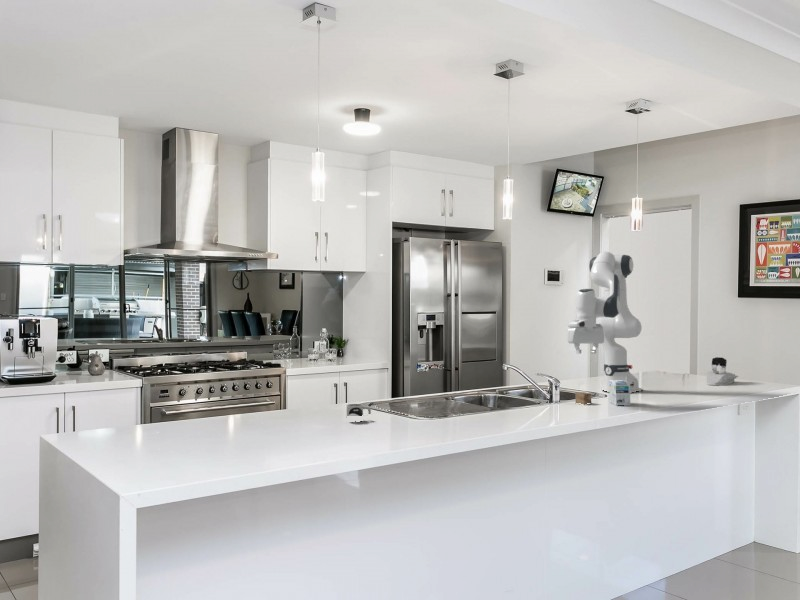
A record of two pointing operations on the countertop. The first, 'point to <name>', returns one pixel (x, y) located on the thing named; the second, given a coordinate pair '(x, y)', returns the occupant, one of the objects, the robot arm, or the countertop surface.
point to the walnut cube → (583, 397)
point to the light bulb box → (620, 392)
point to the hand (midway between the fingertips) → (586, 353)
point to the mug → (356, 409)
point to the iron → (719, 373)
